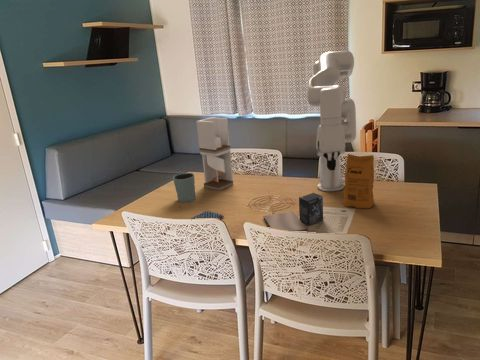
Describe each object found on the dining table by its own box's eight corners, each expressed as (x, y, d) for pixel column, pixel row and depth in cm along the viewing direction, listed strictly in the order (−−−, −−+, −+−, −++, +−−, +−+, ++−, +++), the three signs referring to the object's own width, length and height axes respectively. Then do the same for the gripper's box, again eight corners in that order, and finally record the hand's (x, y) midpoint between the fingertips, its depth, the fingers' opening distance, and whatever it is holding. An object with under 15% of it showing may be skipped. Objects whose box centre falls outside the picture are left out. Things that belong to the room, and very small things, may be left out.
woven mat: (208, 227, 163) (207, 223, 163) (190, 222, 170) (189, 218, 170) (225, 218, 171) (225, 214, 170) (207, 213, 178) (207, 209, 177)
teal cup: (201, 198, 196) (198, 174, 193) (185, 204, 190) (181, 180, 186) (187, 194, 203) (184, 171, 200) (171, 200, 196) (168, 177, 193)
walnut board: (292, 214, 167) (292, 211, 167) (308, 232, 151) (307, 228, 150) (263, 219, 165) (263, 216, 165) (275, 237, 149) (275, 233, 148)
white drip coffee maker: (204, 186, 212) (196, 121, 202) (218, 181, 220) (211, 117, 209) (219, 190, 205) (212, 122, 194) (233, 184, 213) (227, 118, 202)
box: (308, 226, 156) (308, 200, 152) (299, 222, 160) (298, 197, 157) (323, 220, 159) (323, 195, 156) (313, 216, 164) (313, 192, 161)
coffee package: (347, 198, 179) (347, 150, 173) (376, 202, 173) (377, 152, 166) (340, 206, 171) (340, 156, 165) (370, 210, 165) (371, 158, 158)
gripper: (345, 118, 154) (345, 164, 159) (308, 122, 152) (309, 169, 157) (354, 121, 147) (354, 169, 152) (315, 125, 145) (316, 174, 150)
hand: (331, 169), depth 155 cm, fingers closed
